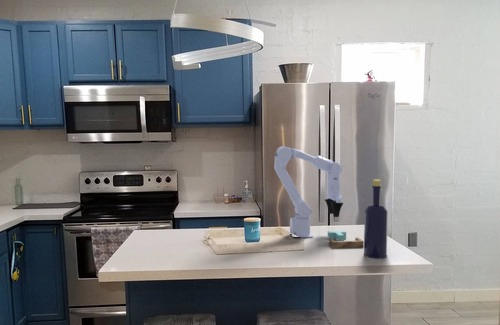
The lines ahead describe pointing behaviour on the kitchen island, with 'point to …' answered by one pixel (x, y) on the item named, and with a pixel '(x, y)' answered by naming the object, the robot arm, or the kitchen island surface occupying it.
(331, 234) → the t block
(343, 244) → the wooden drawer handle
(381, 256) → the bottle
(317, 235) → the kitchen island surface
